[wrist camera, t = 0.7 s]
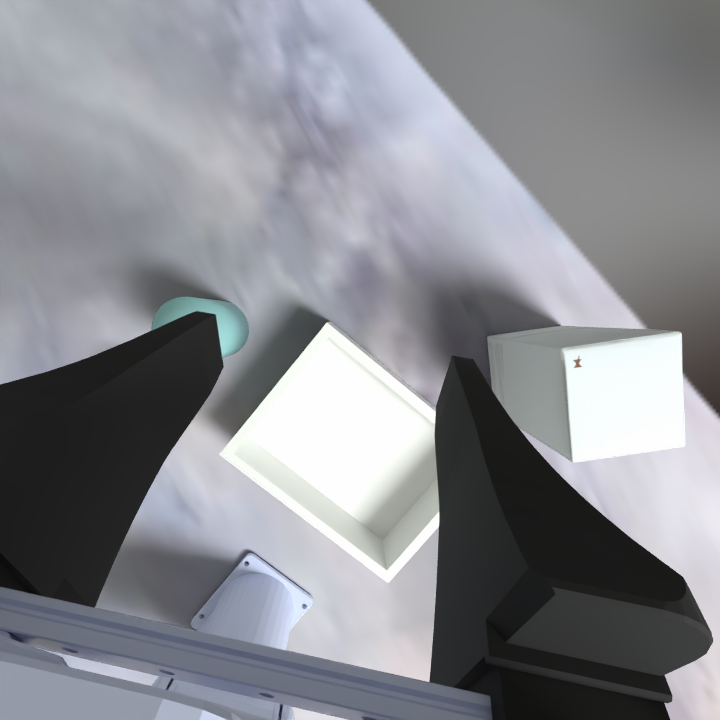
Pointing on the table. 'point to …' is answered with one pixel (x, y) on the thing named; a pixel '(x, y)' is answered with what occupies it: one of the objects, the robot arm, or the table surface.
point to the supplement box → (592, 388)
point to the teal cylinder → (227, 314)
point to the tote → (347, 452)
